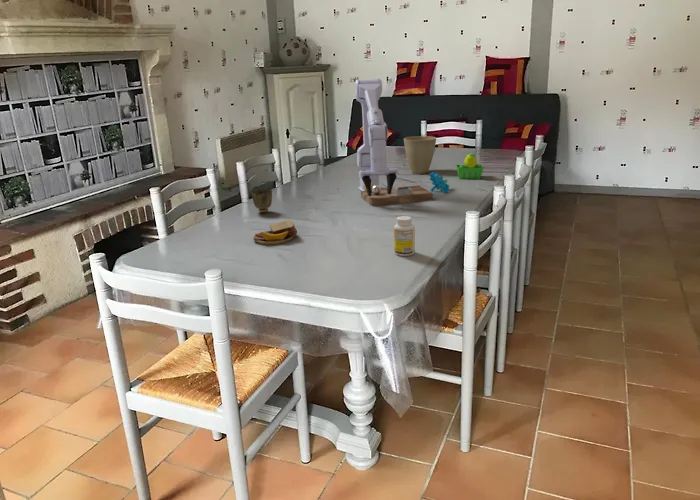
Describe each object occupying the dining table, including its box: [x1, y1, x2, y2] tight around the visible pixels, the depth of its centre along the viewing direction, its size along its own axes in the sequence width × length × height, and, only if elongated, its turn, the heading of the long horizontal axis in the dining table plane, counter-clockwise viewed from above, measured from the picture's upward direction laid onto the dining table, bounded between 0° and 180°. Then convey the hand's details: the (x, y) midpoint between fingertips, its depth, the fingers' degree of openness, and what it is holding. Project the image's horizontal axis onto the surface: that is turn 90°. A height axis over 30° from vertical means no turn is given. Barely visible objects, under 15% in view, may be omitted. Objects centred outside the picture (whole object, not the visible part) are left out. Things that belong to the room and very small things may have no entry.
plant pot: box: [403, 135, 437, 175], centre depth 260 cm, size 15×15×16 cm
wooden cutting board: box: [360, 185, 434, 207], centre depth 215 cm, size 14×24×2 cm, turn 105°
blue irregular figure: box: [429, 171, 451, 194], centre depth 224 cm, size 11×6×10 cm
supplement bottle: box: [393, 215, 416, 257], centre depth 154 cm, size 6×6×10 cm
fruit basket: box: [455, 152, 485, 180], centre depth 245 cm, size 11×9×11 cm
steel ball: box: [372, 185, 382, 194], centre depth 212 cm, size 4×4×4 cm
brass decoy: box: [363, 182, 374, 191], centre depth 217 cm, size 4×4×4 cm
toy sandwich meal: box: [252, 219, 298, 246], centre depth 172 cm, size 12×14×5 cm
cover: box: [391, 183, 412, 196], centre depth 213 cm, size 10×6×3 cm, turn 15°
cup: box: [251, 188, 273, 214], centre depth 203 cm, size 8×7×8 cm
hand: (379, 194), depth 208 cm, fingers open, 7 cm apart
